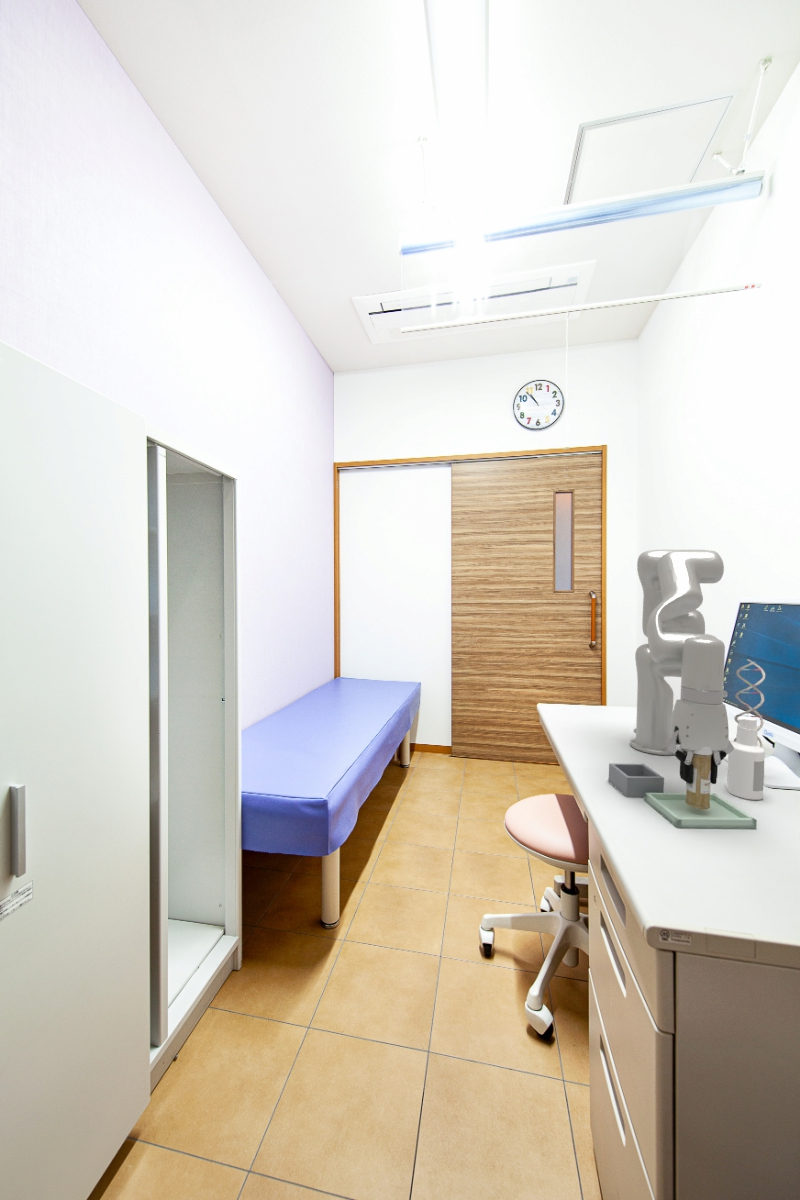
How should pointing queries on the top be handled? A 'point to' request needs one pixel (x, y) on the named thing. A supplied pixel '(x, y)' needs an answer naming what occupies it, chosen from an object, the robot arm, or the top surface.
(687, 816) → the tray
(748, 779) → the white bottle
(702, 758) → the sprinkles bottle
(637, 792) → the holder
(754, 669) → the dna model
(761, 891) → the top surface
